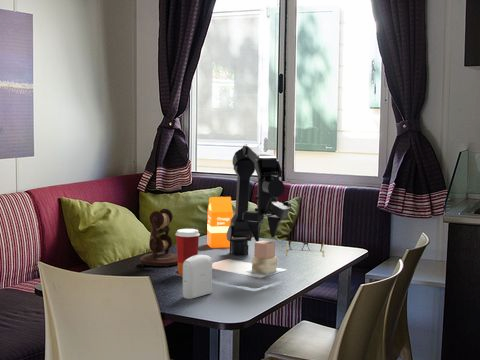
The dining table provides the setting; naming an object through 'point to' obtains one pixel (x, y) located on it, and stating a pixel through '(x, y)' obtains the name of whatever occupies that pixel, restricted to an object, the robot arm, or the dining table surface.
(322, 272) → the dining table surface
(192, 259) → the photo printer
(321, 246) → the eyeglasses
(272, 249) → the terracotta block
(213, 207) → the orange juice
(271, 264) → the birch block
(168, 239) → the wooden spool stand
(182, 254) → the coffee cup
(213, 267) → the white board
